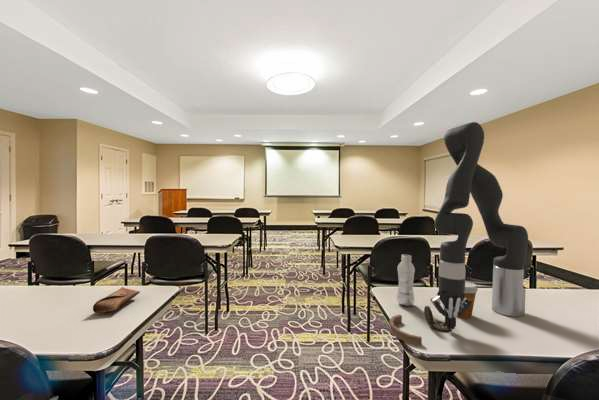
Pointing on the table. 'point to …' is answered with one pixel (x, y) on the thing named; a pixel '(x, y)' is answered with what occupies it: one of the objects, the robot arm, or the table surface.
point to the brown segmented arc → (402, 335)
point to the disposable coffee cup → (469, 294)
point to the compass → (434, 324)
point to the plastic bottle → (405, 281)
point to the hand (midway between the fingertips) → (450, 327)
